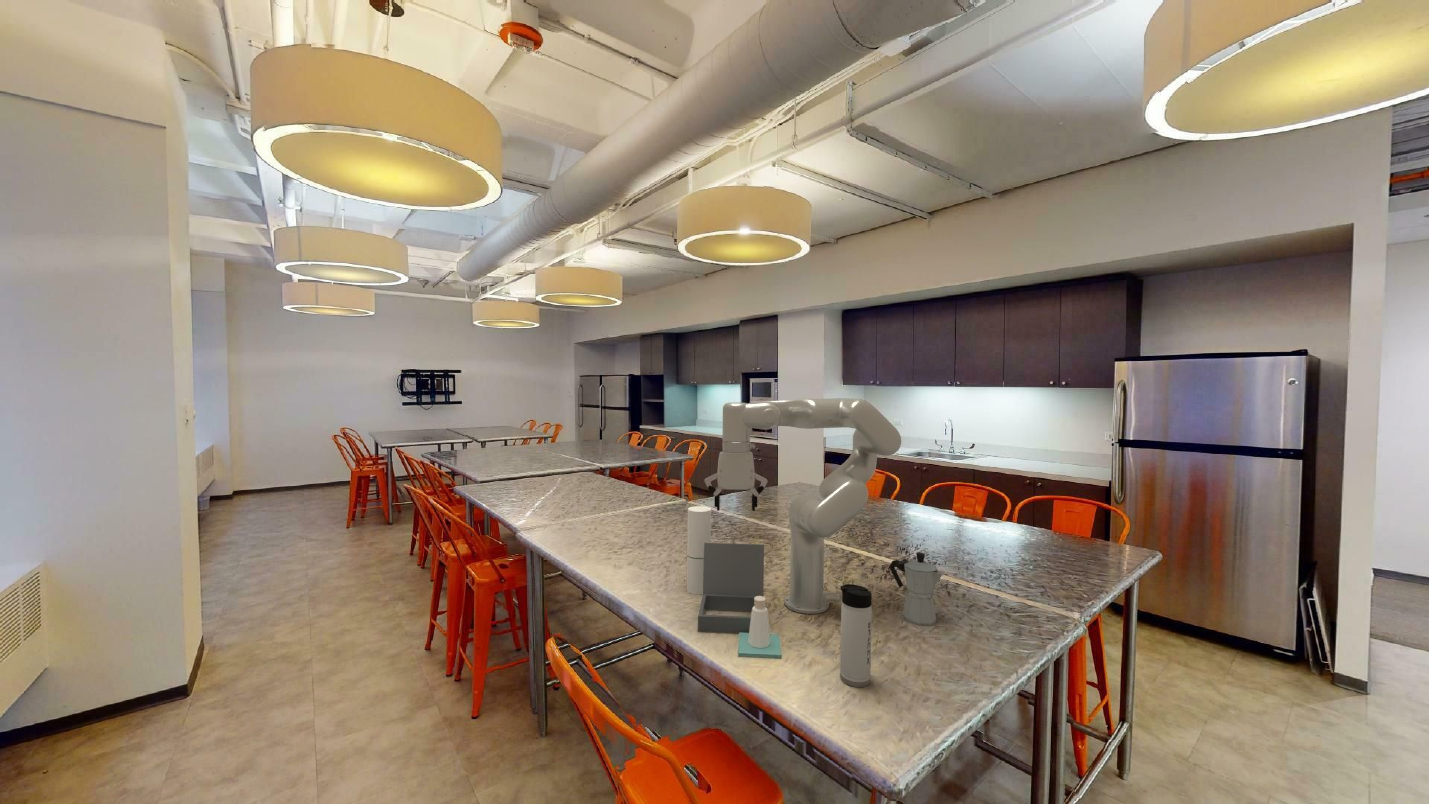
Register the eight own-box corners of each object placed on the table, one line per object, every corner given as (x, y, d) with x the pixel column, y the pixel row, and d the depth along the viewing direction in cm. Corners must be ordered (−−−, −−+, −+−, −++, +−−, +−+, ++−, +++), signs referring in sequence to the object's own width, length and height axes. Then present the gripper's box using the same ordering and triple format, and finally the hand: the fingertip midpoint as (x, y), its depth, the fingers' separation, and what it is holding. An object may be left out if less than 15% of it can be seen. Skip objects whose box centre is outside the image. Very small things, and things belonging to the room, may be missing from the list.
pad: (779, 637, 127) (779, 634, 127) (781, 658, 117) (781, 655, 117) (738, 635, 127) (739, 632, 127) (738, 656, 117) (738, 653, 117)
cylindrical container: (711, 585, 159) (712, 506, 159) (708, 594, 152) (709, 512, 152) (688, 584, 160) (689, 505, 159) (685, 593, 153) (686, 511, 152)
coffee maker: (948, 620, 137) (950, 554, 137) (937, 631, 131) (939, 562, 130) (895, 604, 147) (896, 542, 147) (881, 613, 141) (883, 549, 140)
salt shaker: (743, 642, 122) (744, 597, 122) (757, 635, 126) (758, 591, 126) (760, 651, 118) (761, 604, 118) (775, 643, 122) (775, 597, 122)
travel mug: (834, 671, 111) (836, 581, 111) (863, 670, 112) (865, 581, 112) (844, 688, 105) (846, 593, 105) (875, 687, 106) (877, 592, 105)
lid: (763, 596, 142) (763, 595, 143) (763, 544, 144) (763, 544, 145) (702, 594, 143) (703, 592, 144) (704, 542, 145) (704, 542, 146)
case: (763, 610, 142) (763, 596, 142) (764, 634, 128) (765, 619, 128) (702, 608, 143) (702, 594, 143) (697, 631, 129) (697, 616, 129)
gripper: (766, 446, 142) (766, 506, 143) (704, 445, 143) (704, 506, 143) (769, 449, 135) (768, 513, 135) (704, 449, 135) (703, 512, 136)
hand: (735, 509), depth 139 cm, fingers open, 9 cm apart
